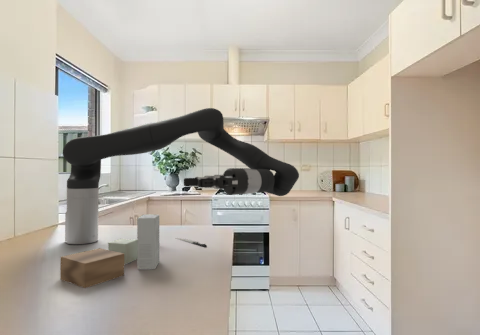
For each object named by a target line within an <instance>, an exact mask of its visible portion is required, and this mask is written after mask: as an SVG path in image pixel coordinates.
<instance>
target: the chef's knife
mask: <svg viewBox="0 0 480 335" xmlns="http://www.w3.org/2000/svg"><path fill="white" fill-rule="evenodd" d="M175 239H176V240H180V241H182V242H186V243H189V244H192V245H196V246H197V247H198V246H199V247H202V248H207V246H208V245H207V244H206V243H200V242H199V241H198V240H197V241H195V240H192V239H186V238H182V237H179V238H178V237H177V238H176V237H175Z"/></svg>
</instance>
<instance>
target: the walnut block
mask: <svg viewBox="0 0 480 335" xmlns="http://www.w3.org/2000/svg"><path fill="white" fill-rule="evenodd" d="M59 268H60V271H59V272H60V274H59V275H60V280H61V281H64V282H67V283H69V284H72V285H75V286H78V287H81V288H84V289H88V288H90V287H92V286H95V285H99V284H102V283H105V282H107V281H111V280H114V279H118V278H121V277H124V276H125V264H124V253H120V252H115V251H110V250H108V249H105V248H101V247H99V248H94V249H90V250H85V251H81V252H76V253H72V254H67V255H62V256H60V267H59Z"/></svg>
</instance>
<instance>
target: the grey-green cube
mask: <svg viewBox="0 0 480 335" xmlns="http://www.w3.org/2000/svg"><path fill="white" fill-rule="evenodd" d="M107 243H108V248H107V250H110V251H115V252H120V253H124V265H127V264H129V263H131V262H133V261H136V260H137V239H134V238H133V239H131V238H130V239H129V238H119V239H116V240H112V241H109V242H107Z"/></svg>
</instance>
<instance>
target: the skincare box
mask: <svg viewBox="0 0 480 335" xmlns="http://www.w3.org/2000/svg"><path fill="white" fill-rule="evenodd" d="M136 221H137V222H136V223H137V226H136V227H137V229H136V232H137V233H136V236H137V238H136V240H137V259H136V260H137V261H136V263H137V264H136V266H137V270H138V271H139V270H155V269H156V268H157V266H158V265H159V263H160V214H158V213H157V214H142V215H141V216H139V217H137V220H136Z"/></svg>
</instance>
